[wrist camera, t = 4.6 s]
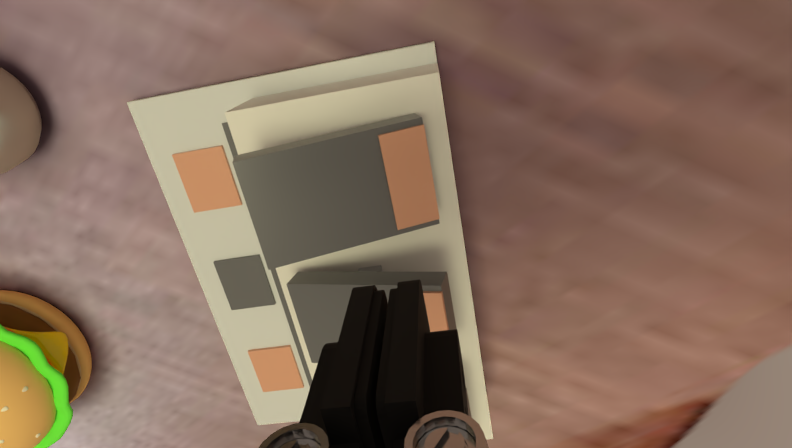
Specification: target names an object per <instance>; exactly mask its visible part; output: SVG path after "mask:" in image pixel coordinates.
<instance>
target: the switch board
mask: <svg viewBox="0 0 792 448" xmlns="http://www.w3.org/2000/svg"><path fill="white" fill-rule="evenodd" d="M127 104H128V107H129V109H130V112H131V114H132V117H133V119H134V121H135V124H136V126H137V129H138V131H139V134H140V136H141V139H142V141H143V144H144V146H145V149H146V151H147V154H148V156H149V158H150V161H151V163H152V166H153V168H154V171H155V173H156V176H157V178H158V181H159V183H160V186H161V188H162V191H163V193H164V195H165V198H166V200H167V203H168V205H169V208H170V210H171V213H172V215H173V218H174V220H175V223H176V225H177V228H178V230H179V232H180V235H181V237H182V240H183V242H184V245H185V247H186V250H187V252H188V255H189V257H190V260H191V262H192V265H193V267H194V269H195V272H196V274H197V277H198V279H199V282H200V284H201V287H202V289H203V292H204V294H205V297H206V299H207V301H208V304H209V306H210V309H211V311H212V314H213V316H214V319H215V321H216V324H217V326H218V329H219V331H220V334H221V336H222V338H223V341H224V343H225V346H226V348H227V351H228V353H229V356H230V358H231V361H232V363H233V366H234V368H235V371H236V373H237V375H238V378H239V380H240V383H241V385H242V388H243V390H244V393H245V395H246V398H247V400H248V403H249V405H250V408H251V410H252V412H253V415H254V417H255V420H256V422H257V425H264V424H275V423H285V422H295V421H300V419H301V416H302V413H303V409H304V406H305V403H306V400H307V396H308V393H309V390H310V387H311V383H312V380H313V377H314V374H315V371H316V367H317V364H318V363H312V362H311V359H310V356H309V353H308V349H307V346H306V343H305V340H304V337H303V334H302V331H301V328H300V325H299V322H298V319H297V315H296V312H295V309H294V306H293V303H292V300H291V297H290V294H289V291H288V288H287V285H286V284H287V283H288V282H289V281H290V280H291V279H292V277H293V276H294V275H295V274H296V273H297V272H447V274H448V280H449V286H450V292H451V298H452V304H453V310H454V316H455V322H456V328H457V331H458V336H459V342H460V349H461V355H462V362H463V369H464V377H465V386H466V388H467V394H468V400H469V406H470V412H471V417H472V418H473V419H474V420H475V421H476V422H477V423H479V425H480V427H481V429H482V430H483V432H484V435H485V438H486V439H493V434H492V428H491V421H490V414H489V407H488V401H487V394H486V387H485V380H484V373H483V367H482V360H481V353H480V346H479V340H478V333H477V326H476V319H475V312H474V306H473V299H472V292H471V285H470V279H469V272H468V265H467V258H466V251H465V245H464V238H463V231H462V224H461V218H460V211H459V204H458V197H457V190H456V184H455V177H454V170H453V163H452V157H451V150H450V143H449V136H448V129H447V123H446V116H445V109H444V102H443V96H442V89H441V82H440V75H439V69H438V64H437V57H436V51H435V44H434V41H432V42H427V43H421V44H416V45H411V46H406V47H401V48H396V49H391V50H386V51H381V52H376V53H371V54H366V55H361V56H355V57H350V58H345V59H340V60H335V61H330V62H325V63H320V64H315V65H310V66H305V67H300V68H295V69H290V70H284V71H279V72H274V73H269V74H264V75H259V76H254V77H249V78H244V79H239V80H234V81H229V82H224V83H219V84H213V85H208V86H203V87H198V88H193V89H188V90H183V91H178V92H173V93H168V94H163V95H158V96H153V97H147V98H142V99H137V100H133V101H130V102H127ZM413 113H415V114H417V115H419V116H421V117H422V121H423V124H424V128H425V134H426V140H427V146H428V152H429V158H430V164H431V170H432V176H433V182H434V188H435V194H436V200H437V206H438V212H439V218H440V219H439V222H440V224H437V225H433V226H429V227H425V228H422V229H418V230H414V231H411V232H407V233H403V234H400V235H396V236H392V237H389V238H385V239H381V240H377V241H374V242H370V243H366V244H363V245H359V246H355V247H352V248H348V249H344V250H340V251H337V252H333V253H329V254H326V255H322V256H318V257H315V258H311V259H307V260H304V261H300V262H296V263H292V264H289V265H285V266H281V267H278V268H274V269H270V270H268V267H267V264H266V261H265V258H264V255H263V252H262V249H261V246H260V243H259V240H258V237H257V234H256V231H255V228H254V225H253V223H252V220H251V217H250V214H249V211H248V208H247V205H246V202H245V199H244V196H243V193H242V190H241V187H240V184H239V181H238V178H237V175H236V172H235V169H234V166H233V163H232V162H233V159H234V156H236V155H240V154H244V153H248V152H253V151H257V150H261V149H265V148H269V147H274V146H278V145H282V144H286V143H291V142H295V141H299V140H303V139H307V138H312V137H316V136H320V135H324V134H329V133H333V132H337V131H341V130H345V129H350V128H354V127H358V126H362V125H367V124H371V123H375V122H379V121H383V120H388V119H392V118H396V117H400V116H405V115H409V114H413Z"/></svg>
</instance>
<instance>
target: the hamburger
mask: <svg viewBox="0 0 792 448" xmlns="http://www.w3.org/2000/svg"><path fill="white" fill-rule="evenodd" d="M91 369H92V360H91V353H90V349H89V346H88V344H87V342H86V340H85V338H84V336H83V334H82V333H81V331H80V330H79V328H78V327H77V326H76V325H75V324H74V323H73V322H72V320H71V319H70V318H68V317H67V316H66V315H65V314H64V313H63V312H61V311H60V310H59V309H57V308H56V307H54V306H53V305H51V304H49V303H47V302H45V301H43V300H41V299H39V298H36V297H34V296H31V295H28V294H25V293H20V292H16V291H6V290H0V448H47V447H49V446H50V445H52V444H53V443H55V442H56V441H58V440H59V439H60V438H61V437H62V436H63V434H64V433H65V431H66V430H67V428H68V426H69V424H70V422H71V419H72V416H73V410H72V408H71V406H70V403H71V402H73V401H74V400H75V399H77V398H78V397H79V396H80V395H81V394H82V392H83V391H84V390H85V388H86V386H87V384H88V382H89V379H90V374H91Z"/></svg>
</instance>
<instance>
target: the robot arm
mask: <svg viewBox="0 0 792 448" xmlns="http://www.w3.org/2000/svg"><path fill="white" fill-rule="evenodd" d="M259 448H489V447H488V444H487V441H486V438H485V435H484V432H483V430H482V429H481V427H480V425H479V423H477V422H476V421H475V420H474V419H473V418H472V417H471V416H469V415H468V405H467V395H466V386H465V377H464V369H463V362H462V355H461V349H460V342H459V336H458V331H457V329H453V330H444V331H435V332H430V327H429V322H428V316H427V311H426V305H425V300H424V295H423V289H422V284H421V280H420V279H419V280H411V281H403V282H398V284H397V288H394V289H390V293H389V300H388V302H387V297H386V293H385V291H384V290H377V288H376V286H375V285H371V286H363V287H355V288H353V289H352V292H351V295H350V299H349V303H348V306H347V310H346V314H345V318H344V321H343V325H342V329H341V332H340V336H339V340H338V342H334V343H326V344H325V345H324V346H323V348H322V351H321V354H320V358H319V361H318V364H317V367H316V371H315V374H314V377H313V380H312V383H311V387H310V390H309V393H308V396H307V400H306V403H305V406H304V409H303V413H302V416H301V419H300V422H299V423H297V424H292V425H289V426H286V427H283V428H281V429H279V430H278V431H276V432H274V433H273V434H271V435H270V436H269V437H268V438H267V439H266V440H265V441H263V443H262V444H261V445H260V447H259Z"/></svg>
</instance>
